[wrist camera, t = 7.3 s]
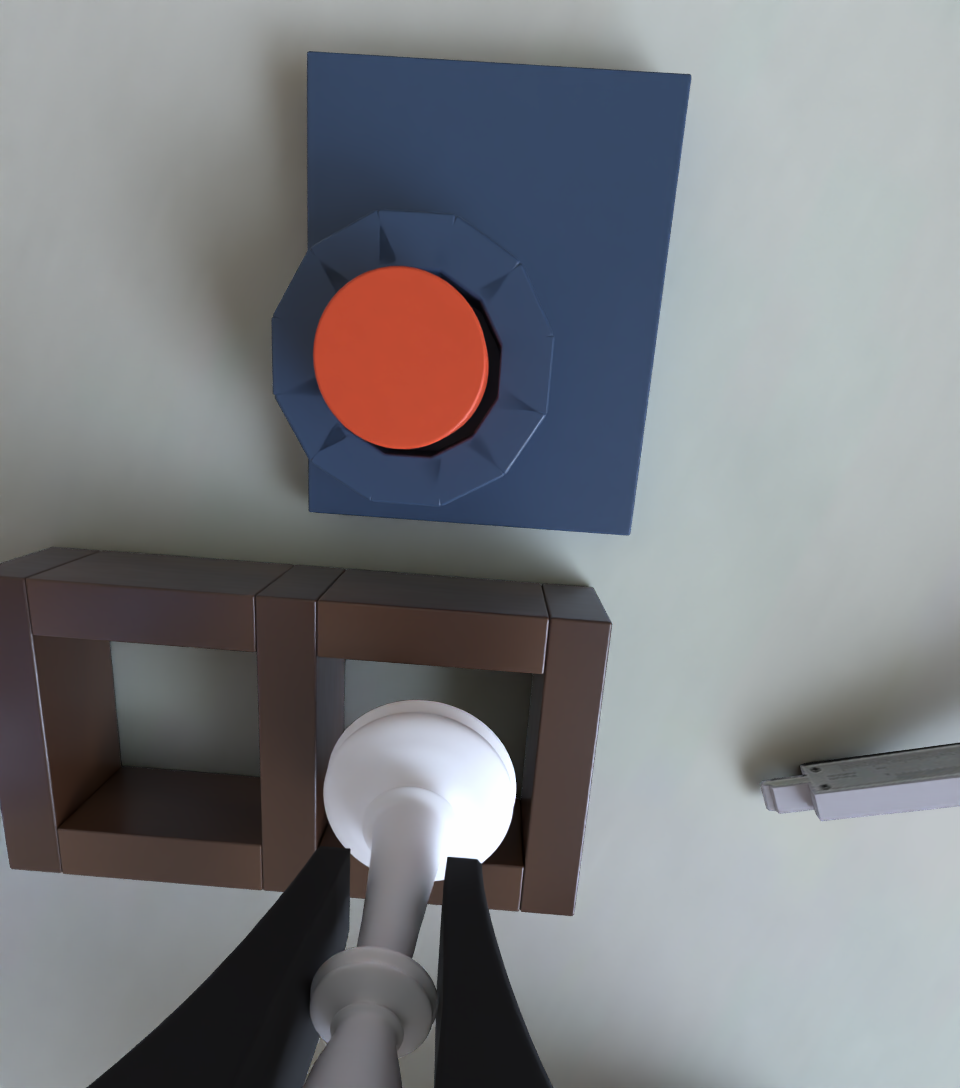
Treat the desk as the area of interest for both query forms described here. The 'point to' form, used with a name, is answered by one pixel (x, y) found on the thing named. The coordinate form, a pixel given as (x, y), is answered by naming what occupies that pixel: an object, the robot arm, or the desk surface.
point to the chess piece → (400, 873)
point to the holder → (274, 713)
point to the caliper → (871, 784)
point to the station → (493, 276)
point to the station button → (400, 357)
